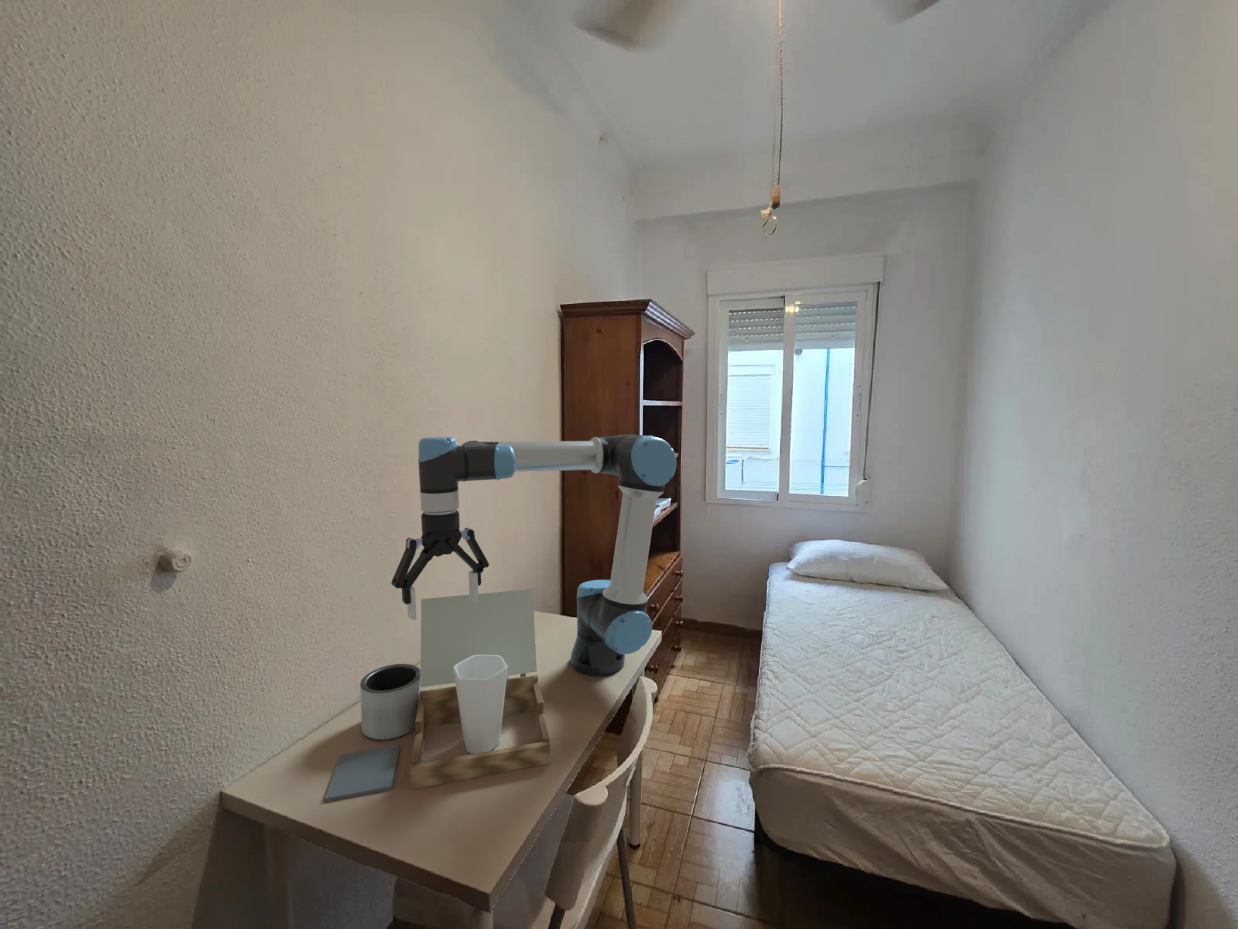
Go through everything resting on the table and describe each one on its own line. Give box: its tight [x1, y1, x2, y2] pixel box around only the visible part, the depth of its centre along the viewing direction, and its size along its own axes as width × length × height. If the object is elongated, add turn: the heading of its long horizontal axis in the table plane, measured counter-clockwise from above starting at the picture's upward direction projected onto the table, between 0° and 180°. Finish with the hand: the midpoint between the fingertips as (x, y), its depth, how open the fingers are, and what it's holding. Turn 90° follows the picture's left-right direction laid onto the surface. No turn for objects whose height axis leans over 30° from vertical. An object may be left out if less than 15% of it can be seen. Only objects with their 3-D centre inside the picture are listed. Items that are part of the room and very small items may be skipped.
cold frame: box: [409, 673, 551, 790], centre depth 108 cm, size 26×25×16 cm
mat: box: [324, 744, 401, 802], centre depth 97 cm, size 11×12×1 cm
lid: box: [420, 588, 538, 688], centre depth 118 cm, size 26×19×1 cm
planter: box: [359, 663, 423, 741], centre depth 112 cm, size 12×13×11 cm
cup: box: [453, 655, 508, 754], centre depth 106 cm, size 11×10×17 cm
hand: (444, 609), depth 107 cm, fingers open, 13 cm apart
